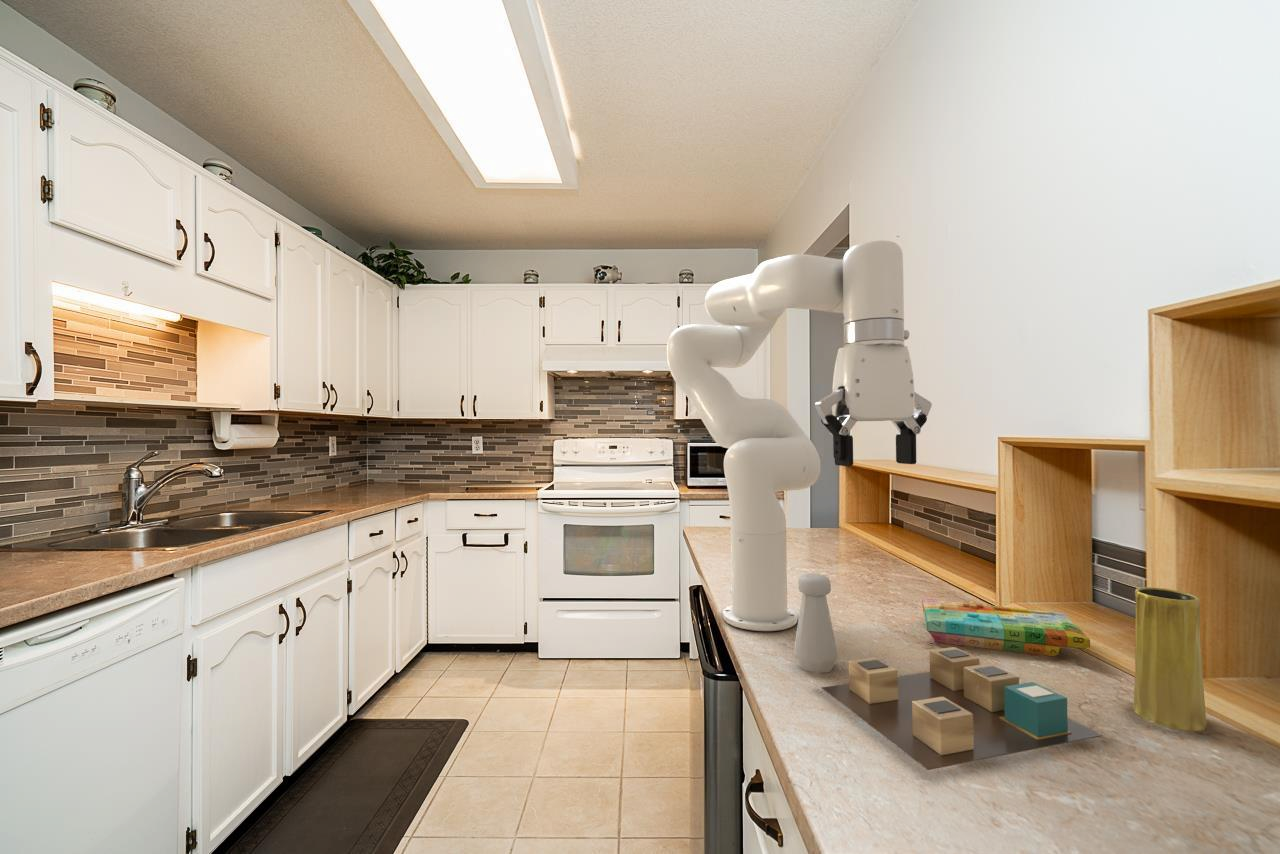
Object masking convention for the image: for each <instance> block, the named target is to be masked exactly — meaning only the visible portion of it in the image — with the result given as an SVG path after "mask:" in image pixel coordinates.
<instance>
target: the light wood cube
mask: <svg viewBox="0 0 1280 854" xmlns="http://www.w3.org/2000/svg"><path fill="white" fill-rule="evenodd" d="M898 676H899V670H898V669H897V668H895V667H894V666H891V665H890V664H888V663H887V662H885V661H883V660H881V659H880V658H879V657H877V656H875V657H869V658H867V657H866V658H860V659H852V660H848V684H849V689H850V690H851V691H852V692H854V693H855V694H856V695H858V696H859V697H861V698H862V699H863V700H865V701H866V702H868V703H869V704H873V703H880V702H886V701H892V700H898Z"/></svg>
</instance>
